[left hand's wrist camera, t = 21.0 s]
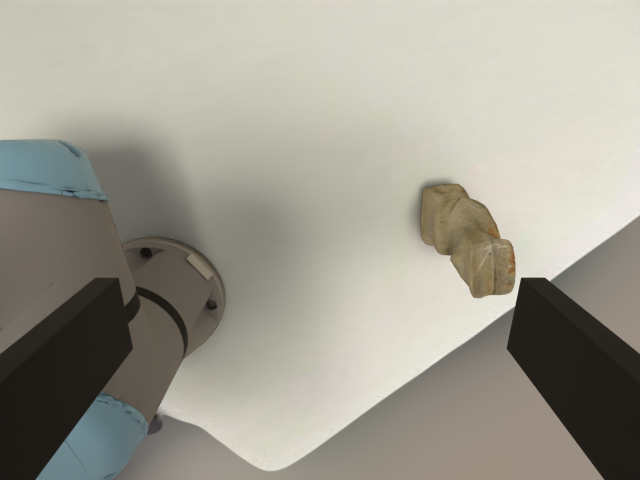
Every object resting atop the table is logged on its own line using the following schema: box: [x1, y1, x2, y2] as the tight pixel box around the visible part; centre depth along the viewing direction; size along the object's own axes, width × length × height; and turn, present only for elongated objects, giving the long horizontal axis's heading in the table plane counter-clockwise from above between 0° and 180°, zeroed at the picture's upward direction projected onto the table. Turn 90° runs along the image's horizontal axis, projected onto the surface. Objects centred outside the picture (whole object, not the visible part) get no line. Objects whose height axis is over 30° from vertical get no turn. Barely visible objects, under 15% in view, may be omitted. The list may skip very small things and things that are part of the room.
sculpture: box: [421, 184, 515, 298], centre depth 36 cm, size 6×7×15 cm
